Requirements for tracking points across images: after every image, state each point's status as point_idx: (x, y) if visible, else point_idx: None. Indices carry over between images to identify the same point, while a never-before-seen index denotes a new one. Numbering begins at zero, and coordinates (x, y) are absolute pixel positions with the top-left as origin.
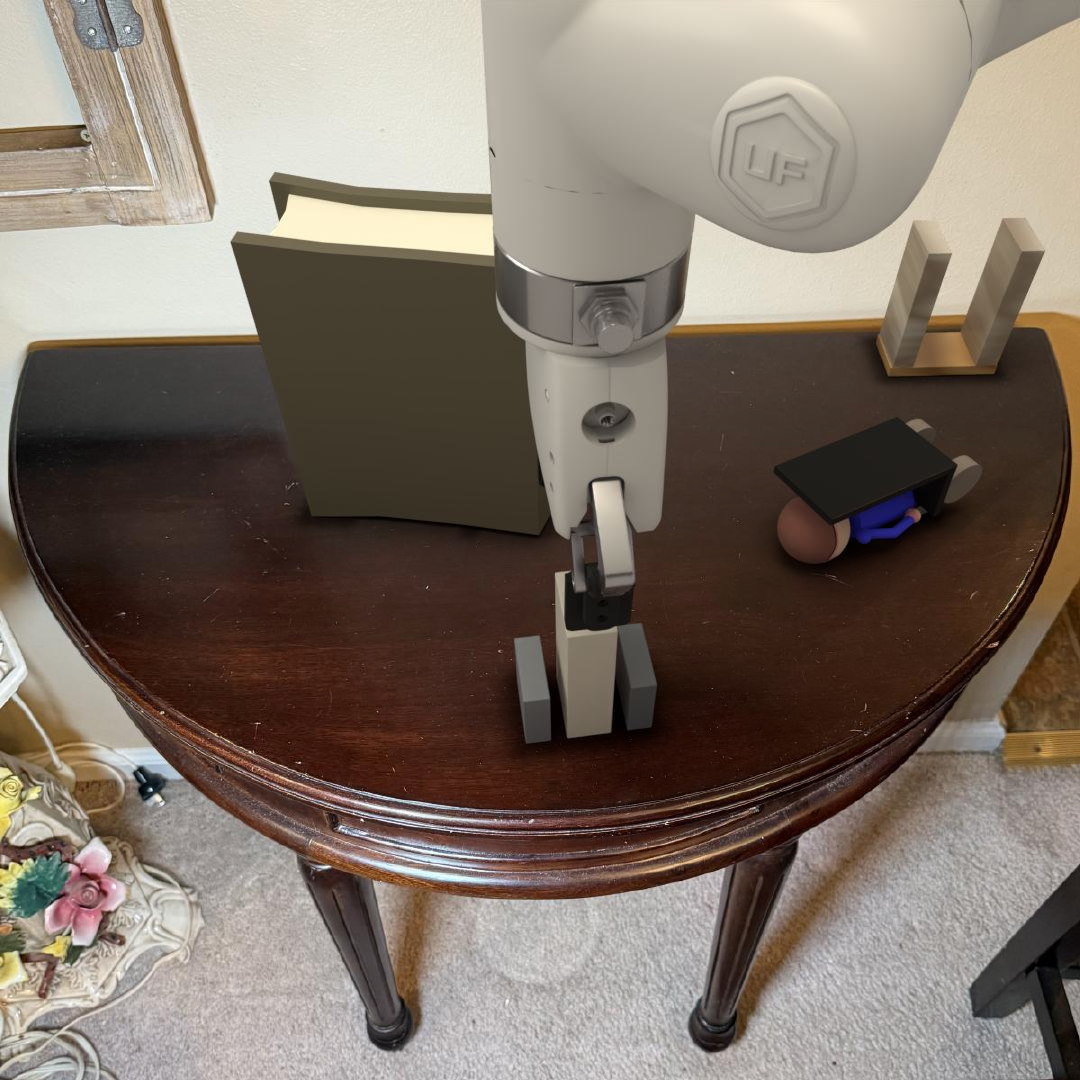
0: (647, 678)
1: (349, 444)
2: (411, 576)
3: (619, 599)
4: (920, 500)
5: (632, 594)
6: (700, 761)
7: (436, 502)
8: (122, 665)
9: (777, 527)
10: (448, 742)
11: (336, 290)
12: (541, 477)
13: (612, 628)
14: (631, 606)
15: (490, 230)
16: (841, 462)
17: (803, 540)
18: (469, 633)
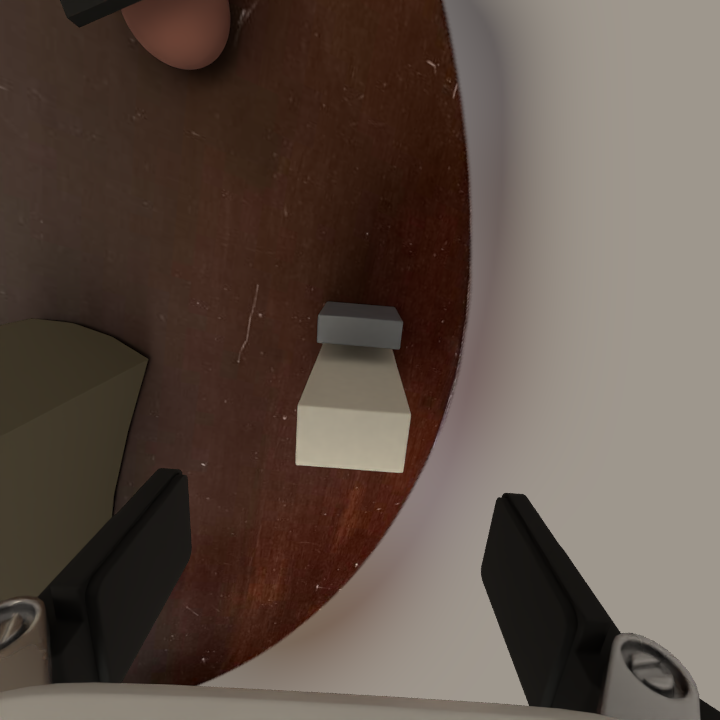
0: (392, 329)
1: (31, 590)
2: (189, 475)
3: (607, 614)
4: None
5: (564, 555)
6: (440, 272)
7: (104, 464)
8: (250, 658)
9: (167, 63)
10: (365, 470)
11: None
12: (178, 578)
13: (404, 419)
14: (545, 525)
15: None
16: None
17: (204, 33)
18: (260, 438)
